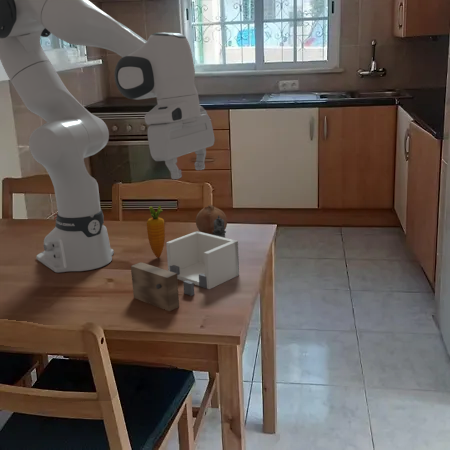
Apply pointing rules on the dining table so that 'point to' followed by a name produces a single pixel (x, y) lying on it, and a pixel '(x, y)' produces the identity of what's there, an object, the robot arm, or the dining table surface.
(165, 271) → the door
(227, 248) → the cabinet
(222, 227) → the chess piece
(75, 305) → the dining table surface
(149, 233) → the carrot
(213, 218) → the onion
